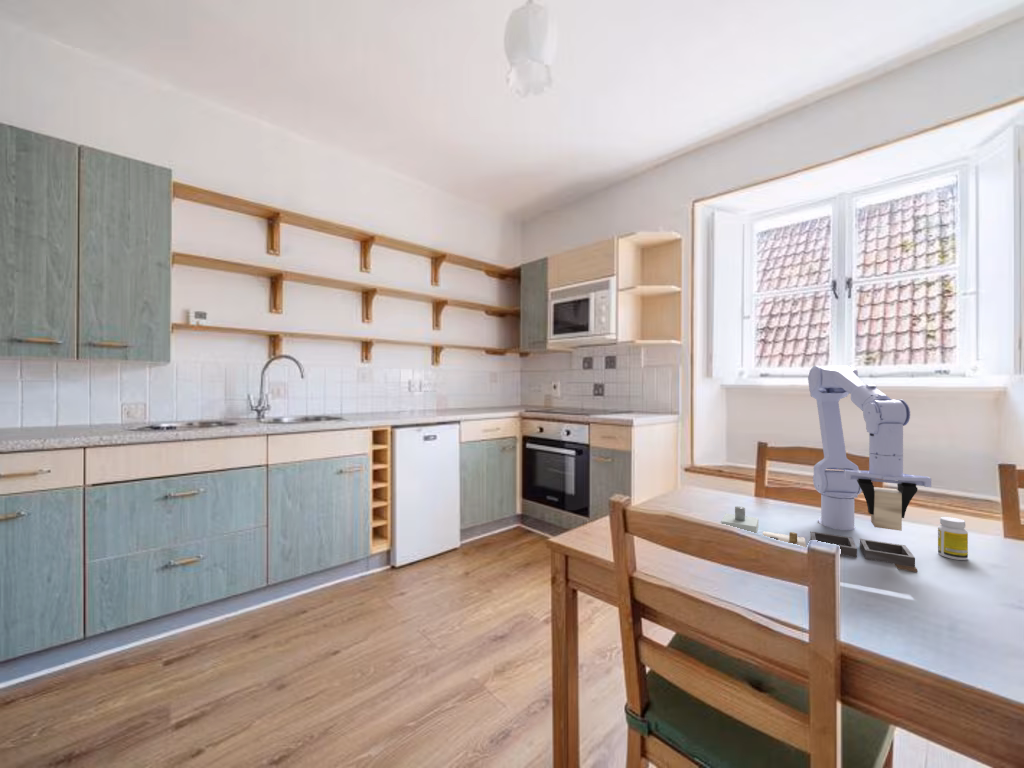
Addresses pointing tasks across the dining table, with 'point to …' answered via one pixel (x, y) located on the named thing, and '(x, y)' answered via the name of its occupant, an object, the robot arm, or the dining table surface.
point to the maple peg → (887, 509)
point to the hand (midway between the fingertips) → (885, 515)
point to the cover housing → (741, 520)
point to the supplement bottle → (952, 538)
